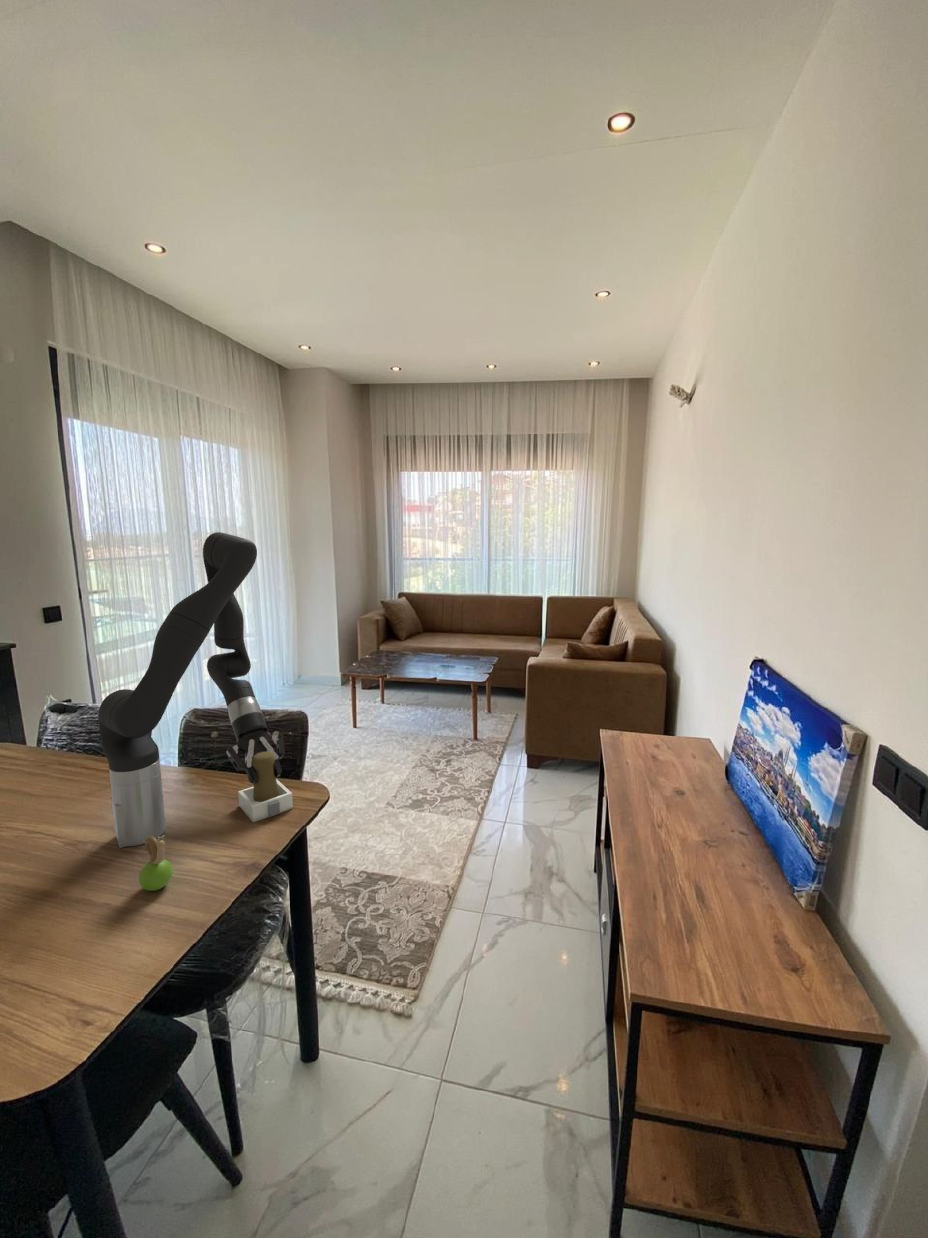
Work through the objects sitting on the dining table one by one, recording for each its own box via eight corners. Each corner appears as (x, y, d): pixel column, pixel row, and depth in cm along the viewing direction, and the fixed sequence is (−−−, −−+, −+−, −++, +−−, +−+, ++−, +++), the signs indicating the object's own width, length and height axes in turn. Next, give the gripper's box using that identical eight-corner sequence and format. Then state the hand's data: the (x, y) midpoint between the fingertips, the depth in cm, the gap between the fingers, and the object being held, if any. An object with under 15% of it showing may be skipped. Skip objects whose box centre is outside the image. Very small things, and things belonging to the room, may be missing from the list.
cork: (269, 803, 118) (266, 761, 116) (247, 800, 119) (244, 758, 117) (283, 790, 123) (281, 750, 121) (262, 787, 125) (259, 747, 123)
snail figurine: (152, 904, 89) (145, 844, 87) (134, 890, 92) (128, 832, 90) (182, 886, 94) (176, 829, 92) (164, 874, 97) (159, 818, 95)
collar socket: (254, 824, 114) (253, 809, 113) (239, 806, 122) (238, 791, 121) (294, 809, 120) (293, 794, 120) (277, 793, 128) (276, 778, 127)
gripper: (219, 718, 118) (239, 783, 112) (278, 705, 128) (299, 764, 121) (214, 732, 123) (233, 795, 116) (271, 718, 133) (291, 776, 126)
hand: (267, 779), depth 119 cm, fingers closed on cork, 5 cm apart
